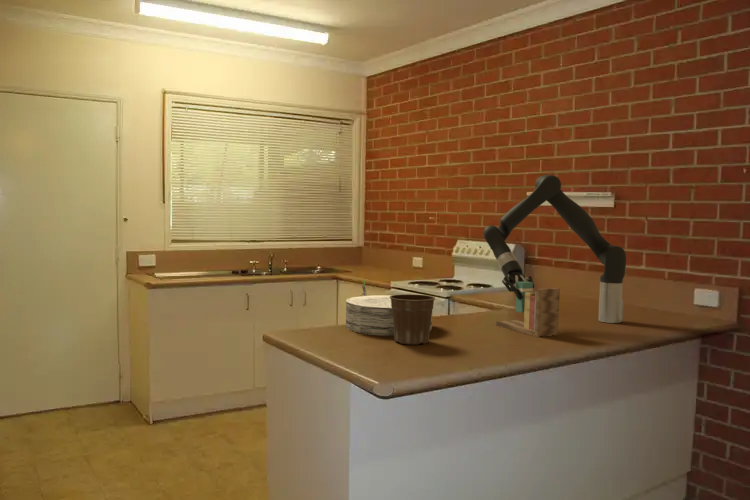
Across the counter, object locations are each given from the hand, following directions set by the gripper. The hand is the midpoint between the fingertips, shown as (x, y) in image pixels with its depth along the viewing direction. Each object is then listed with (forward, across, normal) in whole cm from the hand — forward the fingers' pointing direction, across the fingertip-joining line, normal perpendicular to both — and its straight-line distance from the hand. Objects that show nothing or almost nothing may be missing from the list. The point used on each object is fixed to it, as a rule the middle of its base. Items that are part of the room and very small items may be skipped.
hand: (527, 298), depth 247 cm
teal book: (+3, 0, +5) cm, 6 cm away
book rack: (+9, 0, +10) cm, 13 cm away
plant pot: (+12, -54, +7) cm, 56 cm away
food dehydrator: (-8, -49, +28) cm, 57 cm away
